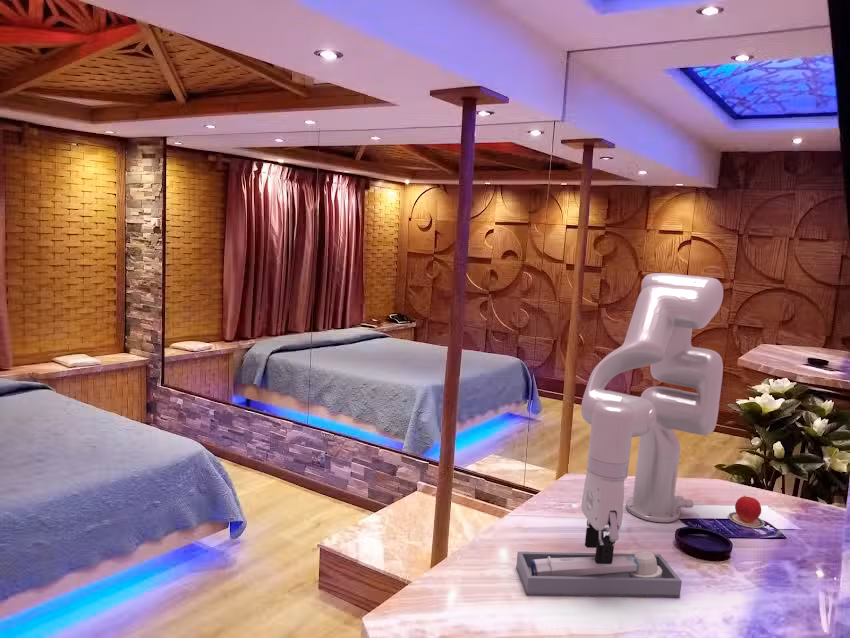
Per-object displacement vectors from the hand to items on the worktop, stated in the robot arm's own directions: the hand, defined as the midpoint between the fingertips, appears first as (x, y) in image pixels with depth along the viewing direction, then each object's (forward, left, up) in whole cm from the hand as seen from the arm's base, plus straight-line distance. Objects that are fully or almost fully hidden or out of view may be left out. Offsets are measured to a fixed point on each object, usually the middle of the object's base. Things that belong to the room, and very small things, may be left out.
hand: (598, 554), depth 124 cm
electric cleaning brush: (0, +1, -6) cm, 6 cm away
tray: (0, 0, -6) cm, 6 cm away
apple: (-47, -28, -6) cm, 55 cm away
